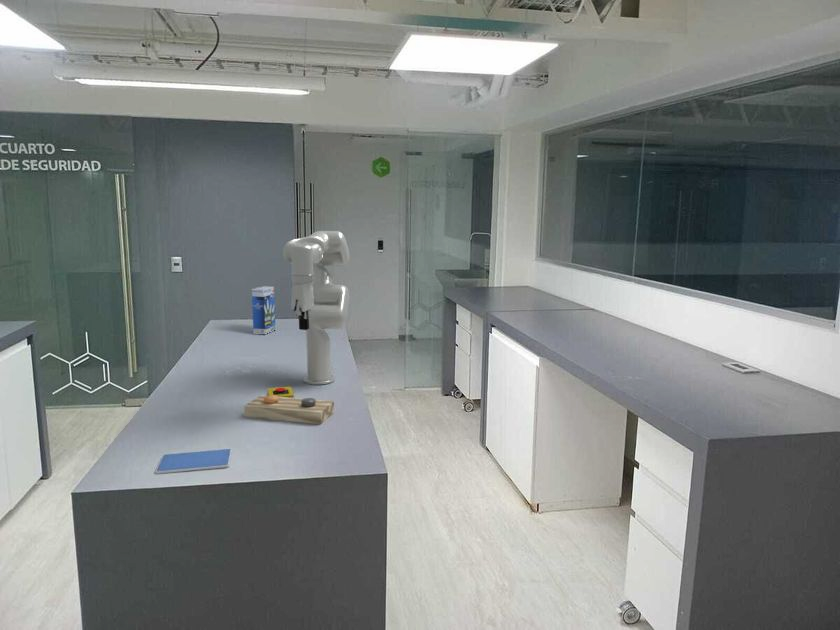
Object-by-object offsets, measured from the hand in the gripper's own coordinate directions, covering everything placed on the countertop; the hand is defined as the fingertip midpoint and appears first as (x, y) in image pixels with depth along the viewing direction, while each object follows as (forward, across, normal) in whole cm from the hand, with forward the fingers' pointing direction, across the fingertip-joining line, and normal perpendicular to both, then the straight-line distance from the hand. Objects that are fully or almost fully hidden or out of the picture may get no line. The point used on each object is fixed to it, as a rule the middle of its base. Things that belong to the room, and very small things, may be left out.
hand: (304, 329), depth 222 cm
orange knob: (+27, +16, -6) cm, 32 cm away
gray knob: (+27, +16, +8) cm, 32 cm away
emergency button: (+28, 0, -10) cm, 30 cm away
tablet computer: (+28, +59, -8) cm, 66 cm away
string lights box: (+27, -107, -72) cm, 132 cm away
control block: (+27, +16, +1) cm, 31 cm away
